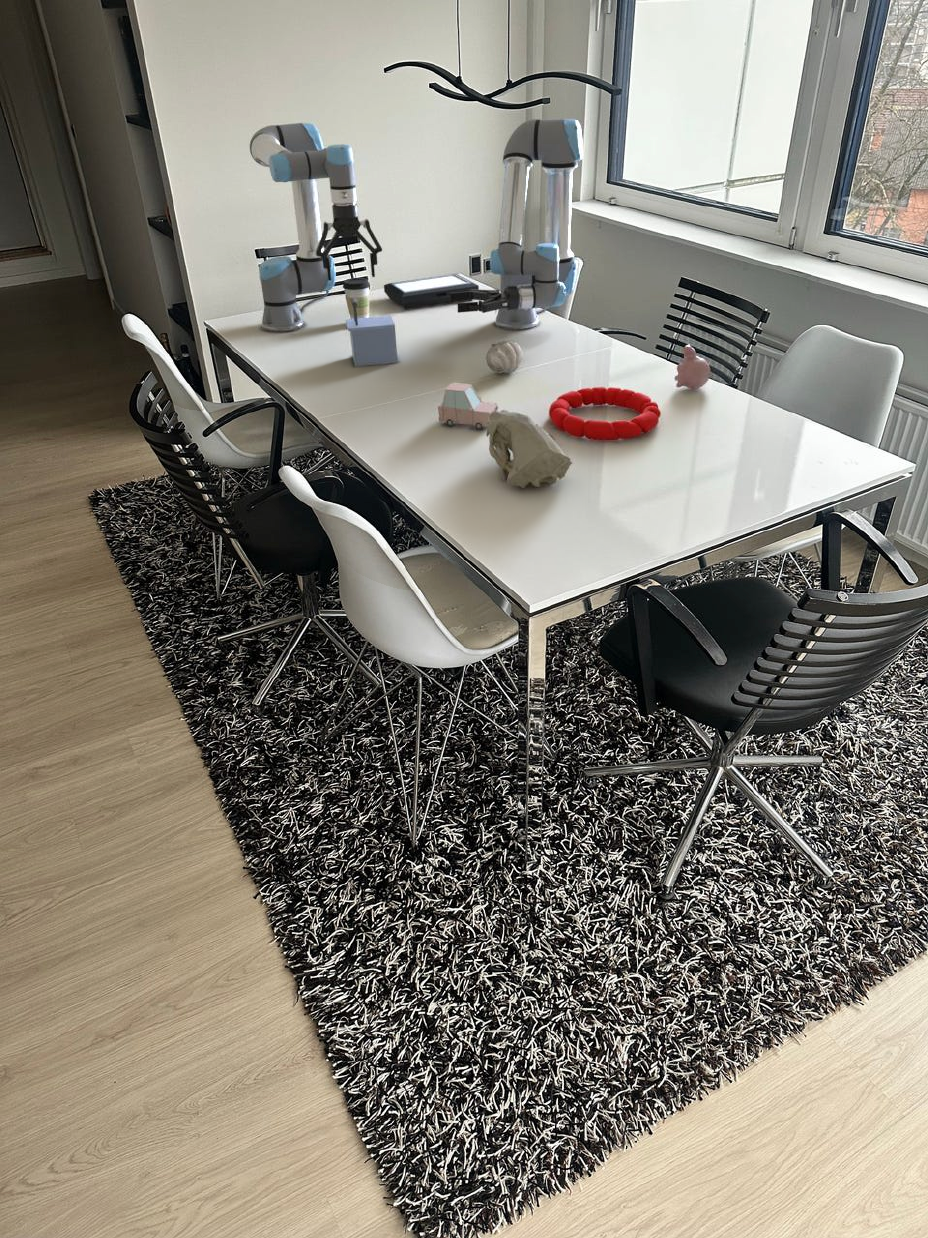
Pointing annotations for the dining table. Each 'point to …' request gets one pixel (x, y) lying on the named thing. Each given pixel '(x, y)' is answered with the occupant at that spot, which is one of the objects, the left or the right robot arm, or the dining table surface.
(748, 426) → the dining table surface
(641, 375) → the dining table surface
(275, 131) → the left robot arm
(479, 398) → the toy car
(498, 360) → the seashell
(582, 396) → the decorative ring
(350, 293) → the coffee cup
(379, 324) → the lid
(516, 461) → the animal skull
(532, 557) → the dining table surface
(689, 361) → the figurine
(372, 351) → the chest
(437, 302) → the electronic device
